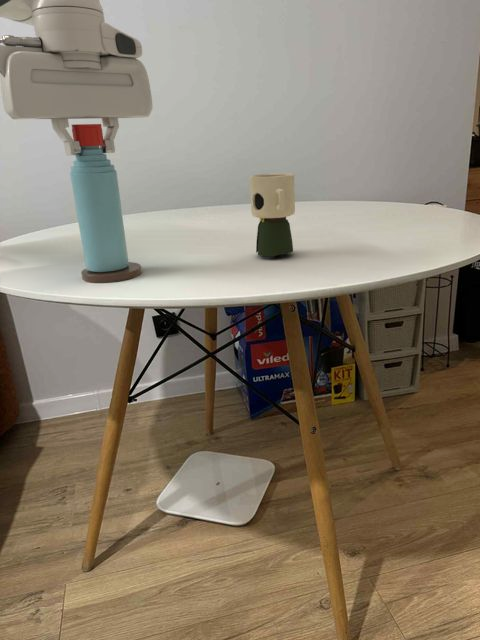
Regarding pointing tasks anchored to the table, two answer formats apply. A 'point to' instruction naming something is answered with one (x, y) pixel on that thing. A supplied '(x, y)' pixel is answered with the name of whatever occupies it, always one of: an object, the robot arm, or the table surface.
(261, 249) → the character mug
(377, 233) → the table surface
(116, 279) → the coaster
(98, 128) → the cap
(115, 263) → the bottle
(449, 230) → the table surface
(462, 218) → the table surface
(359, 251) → the table surface
